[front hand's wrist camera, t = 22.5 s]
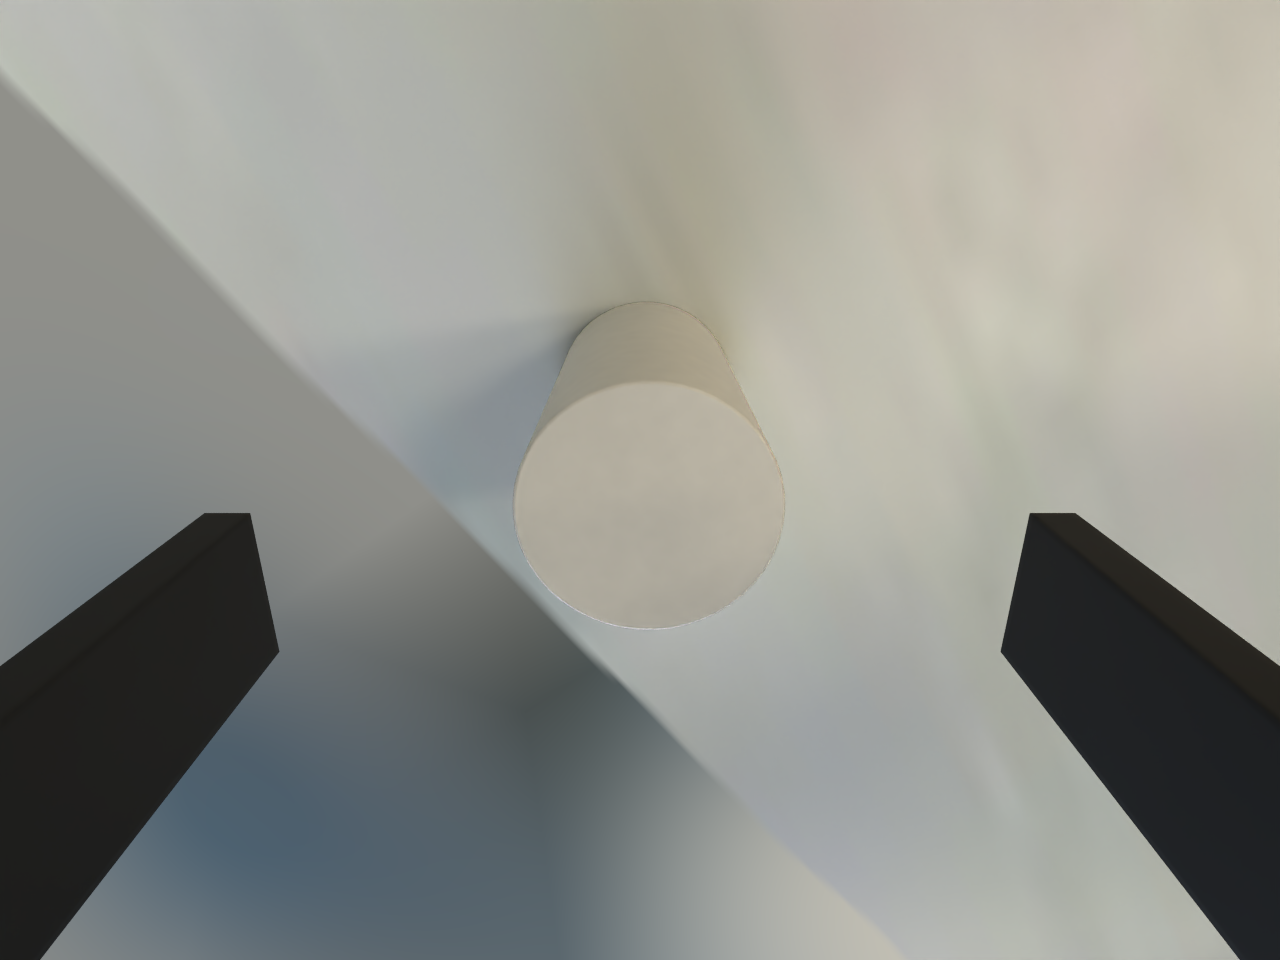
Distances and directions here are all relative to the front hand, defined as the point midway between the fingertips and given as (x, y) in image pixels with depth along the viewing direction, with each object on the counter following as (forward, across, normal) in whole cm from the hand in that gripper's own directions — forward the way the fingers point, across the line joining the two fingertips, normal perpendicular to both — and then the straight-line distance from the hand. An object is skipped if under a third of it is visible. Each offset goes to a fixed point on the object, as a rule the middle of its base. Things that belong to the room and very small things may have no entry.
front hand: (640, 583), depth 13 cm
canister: (+14, 0, 0) cm, 14 cm away
